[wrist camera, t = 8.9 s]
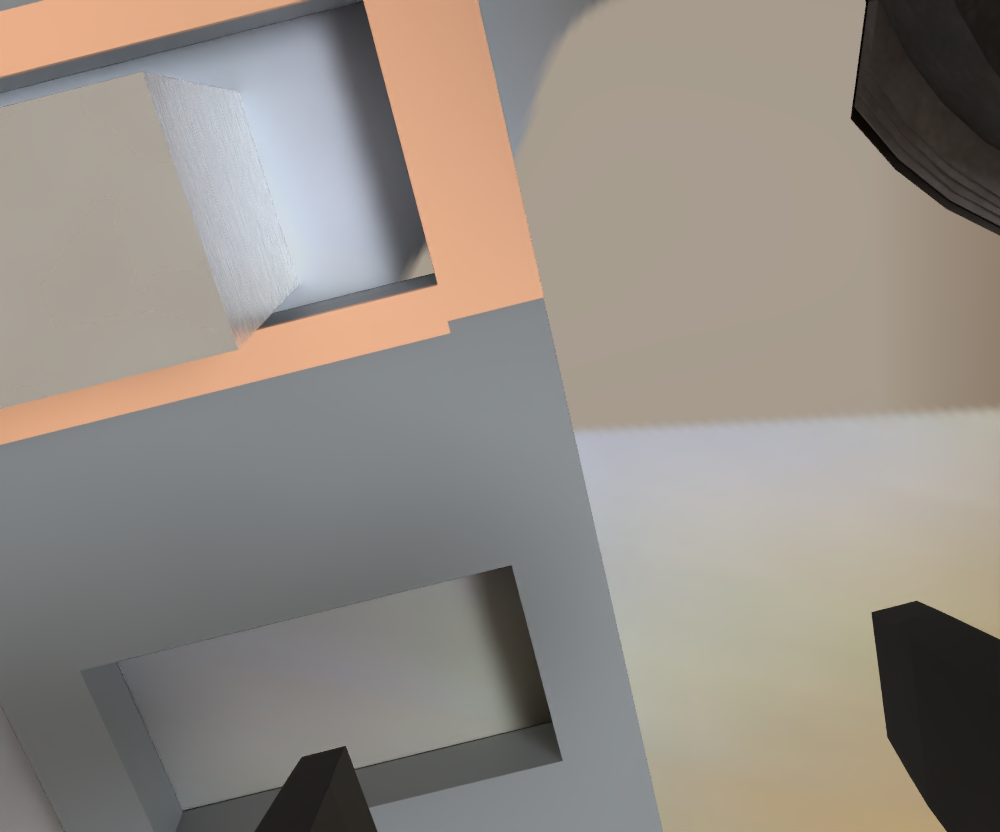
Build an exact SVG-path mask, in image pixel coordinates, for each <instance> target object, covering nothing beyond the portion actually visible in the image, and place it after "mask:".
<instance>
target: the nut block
mask: <svg viewBox="0 0 1000 832" xmlns="http://www.w3.org/2000/svg"><path fill="white" fill-rule="evenodd" d="M298 285H299V283H298V280H297V277H296V274H295V270H294V267H293V264H292V261H291V258H290V254H289V251H288V248H287V245H286V242H285V239H284V235H283V232H282V229H281V226H280V223H279V219H278V216H277V213H276V210H275V207H274V204H273V200H272V197H271V194H270V191H269V188H268V184H267V181H266V178H265V175H264V172H263V169H262V165H261V162H260V159H259V156H258V153H257V149H256V146H255V143H254V140H253V137H252V133H251V130H250V127H249V124H248V121H247V118H246V114H245V111H244V108H243V105H242V102H241V98H240V95H239V92H237V91H232V90H227V89H223V88H218V87H213V86H208V85H203V84H199V83H194V82H189V81H184V80H179V79H175V78H170V77H165V76H160V75H155V74H151V73H146V72H139V73H135V74H131V75H128V76H124V77H120V78H116V79H112V80H108V81H104V82H100V83H96V84H92V85H88V86H84V87H80V88H76V89H72V90H68V91H64V92H60V93H56V94H52V95H48V96H44V97H40V98H37V99H33V100H29V101H25V102H21V103H17V104H13V105H9V106H5V107H1V108H0V409H3V408H7V407H11V406H15V405H19V404H23V403H27V402H31V401H35V400H39V399H43V398H47V397H51V396H55V395H59V394H63V393H67V392H71V391H75V390H79V389H83V388H87V387H91V386H95V385H99V384H103V383H107V382H111V381H115V380H119V379H123V378H127V377H131V376H135V375H139V374H143V373H147V372H151V371H155V370H159V369H163V368H167V367H171V366H175V365H179V364H183V363H187V362H191V361H195V360H199V359H203V358H207V357H211V356H215V355H219V354H223V353H227V352H231V351H235V350H238V349H239V348H240V347H241V346H242V345H243V344H244V343H245V342H246V341H247V340H248V339H249V338H250V336H251V335H252V334H253V333H254V332H255V331H256V330H257V329H258V328H259V327H260V326H261V325H262V324H263V322H264V321H265V320H266V319H267V318H268V317H269V316H270V315H271V314H272V313H273V312H274V311H275V309H276V308H277V307H278V306H279V305H280V304H281V303H282V302H283V301H284V300H285V299H286V298H287V297H288V295H289V294H290V293H291V292H292V291H293V290H294V289H295V288H296V287H297V286H298Z"/></svg>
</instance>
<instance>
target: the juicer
mask: <svg viewBox="0 0 1000 832" xmlns="http://www.w3.org/2000/svg"><path fill="white" fill-rule="evenodd" d="M865 1H866V7H865V14H864V22H863V29H862V37H861V45H860V52H859V59H858V67H857V74H856V82H855V89H854V97H853V104H852V113H851V120H852V121H853V122H854V123H855V125H856V126H857V127H858V128H859V129H860V130H861V131H862V132H863V133H864V135H865V136H866V137H867V138H868V139H869V140H870V142H871V143H872V144H873V145H874V146H875V147H876V148H877V150H878V151H879V152H880V153H881V154H882V155H883V156H884V157H885V159H886V160H887V161H888V162H889V163H890V164H891V165H892V167H893V168H894V169H895V170H896V171H898V172H899V173H901V174H902V175H903V176H904V177H906V178H907V179H908V180H910V181H911V182H912V183H913V184H915V185H916V186H917V187H919V188H920V189H921V190H922V191H924V192H925V193H926V194H928V195H929V196H930V197H932V198H933V199H934V200H935V201H937V202H938V203H939V204H940V205H942V206H943V207H944V208H946V209H947V210H949V211H951V212H953V213H955V214H957V215H959V216H962V217H963V218H965V219H968V220H969V221H971V222H973V223H975V224H977V225H980V226H982V227H983V228H985V229H987V230H990V231H991V232H994V233H996V234H997V235H999V236H1000V0H865Z"/></svg>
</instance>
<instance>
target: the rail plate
mask: <svg viewBox="0 0 1000 832" xmlns="http://www.w3.org/2000/svg"><path fill="white" fill-rule="evenodd" d="M361 1H364V5H365V9H366V13H367V16H368V20H369V24H370V28H371V32H372V36H373V39H374V43H375V47H376V51H377V55H378V58H379V62H380V66H381V70H382V74H383V78H384V81H385V85H386V89H387V93H388V97H389V101H390V104H391V108H392V112H393V116H394V120H395V123H396V127H397V131H398V135H399V139H400V143H401V146H402V150H403V154H404V158H405V162H406V165H407V169H408V173H409V177H410V181H411V185H412V188H413V192H414V196H415V200H416V204H417V207H418V211H419V215H420V219H421V223H422V227H423V230H424V234H425V238H426V242H427V246H428V249H429V253H430V257H431V261H432V265H433V269H434V272H435V273H433V274H429V275H425V276H421V277H417V278H413V279H409V280H405V281H401V282H397V283H393V284H389V285H385V286H381V287H377V288H373V289H368V290H364V291H360V292H356V293H352V294H348V295H344V296H340V297H336V298H332V299H328V300H324V301H320V302H316V303H312V304H308V305H304V306H300V307H296V308H292V309H288V310H284V311H280V312H276V313H272V314H271V315H270V316H269V317H268V318H267V319H266V320H265V321H264V322H263V324H262V325H261V326H260V327H259V328H258V329H257V330H256V331H255V332H254V333H253V334H252V335H251V336H250V338H249V339H248V340H247V341H246V342H245V343H244V344H243V345H242V346H241V347H240V348H239V349H238V350H235V351H231V352H227V353H223V354H219V355H215V356H211V357H207V358H203V359H199V360H195V361H191V362H187V363H183V364H179V365H175V366H171V367H167V368H163V369H159V370H155V371H151V372H147V373H143V374H139V375H135V376H131V377H127V378H123V379H119V380H115V381H111V382H107V383H103V384H99V385H95V386H91V387H87V388H83V389H79V390H75V391H71V392H67V393H63V394H59V395H55V396H51V397H47V398H43V399H39V400H35V401H31V402H27V403H23V404H19V405H15V406H11V407H7V408H3V409H0V705H1V707H2V709H3V711H4V713H5V715H6V717H7V719H8V721H9V723H10V725H11V727H12V729H13V731H14V733H15V735H16V737H17V739H18V741H19V743H20V745H21V747H22V749H23V750H24V752H25V754H26V756H27V758H28V760H29V762H30V764H31V766H32V768H33V770H34V772H35V774H36V776H37V778H38V780H39V782H40V784H41V786H42V788H43V790H44V792H45V794H46V796H47V798H48V800H49V802H50V804H51V806H52V808H53V810H54V812H55V814H56V816H57V818H58V820H59V822H60V824H61V826H62V828H63V830H64V832H254V831H255V830H256V828H257V826H258V825H259V823H260V822H261V820H262V819H263V817H264V815H265V814H266V812H267V811H268V809H269V807H270V806H271V804H272V803H273V801H274V799H275V798H276V796H277V795H278V793H279V792H280V790H281V788H279V789H274V790H270V791H266V792H262V793H258V794H254V795H250V796H246V797H241V798H237V799H233V800H229V801H225V802H221V803H217V804H213V805H209V806H204V807H200V808H196V809H192V810H188V811H184V812H183V811H182V808H181V806H180V804H179V802H178V799H177V797H176V795H175V793H174V790H173V788H172V786H171V784H170V781H169V779H168V777H167V775H166V772H165V770H164V768H163V766H162V763H161V761H160V759H159V757H158V754H157V752H156V750H155V748H154V745H153V743H152V741H151V739H150V736H149V734H148V732H147V730H146V727H145V725H144V723H143V721H142V718H141V716H140V714H139V712H138V709H137V707H136V705H135V703H134V700H133V698H132V696H131V694H130V691H129V689H128V687H127V685H126V682H125V680H124V678H123V676H122V673H121V671H120V669H119V667H118V664H117V662H118V661H122V660H126V659H130V658H134V657H138V656H143V655H147V654H151V653H155V652H159V651H163V650H167V649H171V648H175V647H179V646H183V645H187V644H192V643H196V642H200V641H204V640H208V639H212V638H216V637H220V636H224V635H228V634H232V633H236V632H241V631H245V630H249V629H253V628H257V627H261V626H265V625H269V624H273V623H277V622H281V621H285V620H290V619H294V618H298V617H302V616H306V615H310V614H314V613H318V612H322V611H326V610H330V609H334V608H339V607H343V606H347V605H351V604H355V603H359V602H363V601H367V600H371V599H375V598H379V597H383V596H388V595H392V594H396V593H400V592H404V591H408V590H412V589H416V588H420V587H424V586H428V585H432V584H437V583H441V582H445V581H449V580H453V579H457V578H461V577H465V576H469V575H473V574H477V573H481V572H486V571H490V570H494V569H498V568H502V567H506V566H510V565H512V569H513V573H514V576H515V580H516V584H517V588H518V592H519V596H520V599H521V603H522V607H523V611H524V615H525V619H526V622H527V626H528V630H529V634H530V638H531V641H532V645H533V649H534V653H535V657H536V661H537V664H538V668H539V672H540V676H541V680H542V683H543V687H544V691H545V695H546V699H547V703H548V706H549V710H550V714H551V718H552V722H551V723H546V724H542V725H538V726H534V727H530V728H526V729H522V730H518V731H513V732H509V733H505V734H501V735H497V736H493V737H489V738H485V739H480V740H476V741H472V742H468V743H464V744H460V745H456V746H452V747H448V748H443V749H439V750H435V751H431V752H427V753H423V754H419V755H415V756H410V757H406V758H402V759H398V760H394V761H390V762H386V763H382V764H377V765H373V766H369V767H365V768H361V769H357V770H355V772H356V775H357V778H358V781H359V783H360V786H361V789H362V791H363V794H364V797H365V799H366V802H367V805H368V807H369V810H370V813H371V815H372V818H373V821H374V823H375V826H376V829H377V831H378V832H663V830H662V826H661V822H660V817H659V813H658V808H657V804H656V799H655V795H654V790H653V786H652V781H651V777H650V772H649V768H648V763H647V759H646V754H645V750H644V745H643V741H642V736H641V732H640V727H639V723H638V719H637V714H636V710H635V705H634V701H633V696H632V692H631V687H630V683H629V678H628V674H627V669H626V665H625V660H624V656H623V651H622V647H621V642H620V638H619V633H618V629H617V624H616V620H615V616H614V611H613V607H612V602H611V598H610V593H609V589H608V584H607V580H606V575H605V571H604V566H603V562H602V557H601V553H600V548H599V544H598V539H597V535H596V530H595V526H594V521H593V517H592V513H591V508H590V504H589V499H588V495H587V490H586V486H585V481H584V477H583V472H582V468H581V463H580V459H579V454H578V450H577V445H576V441H575V436H574V432H573V427H572V423H571V419H570V414H569V410H568V405H567V401H566V396H565V392H564V387H563V383H562V379H561V374H560V369H559V365H558V360H557V356H556V351H555V348H554V343H553V338H552V334H551V329H550V324H549V320H548V315H547V311H546V307H545V302H544V298H543V297H544V294H543V290H542V285H541V281H540V277H539V272H538V267H537V263H536V258H535V254H534V250H533V245H532V240H531V236H530V232H529V227H528V223H527V218H526V214H525V209H524V205H523V201H522V196H521V191H520V187H519V182H518V178H517V173H516V169H515V164H514V160H513V155H512V151H511V146H510V142H509V137H508V133H507V128H506V124H505V119H504V115H503V110H502V106H501V101H500V97H499V93H498V88H497V84H496V79H495V75H494V70H493V66H492V61H491V57H490V52H489V48H488V43H487V39H486V34H485V30H484V25H483V21H482V16H481V12H480V7H479V3H478V0H0V93H1V92H5V91H9V90H13V89H17V88H21V87H25V86H29V85H33V84H37V83H41V82H44V81H48V80H52V79H56V78H60V77H64V76H68V75H72V74H76V73H80V72H84V71H88V70H92V69H96V68H100V67H104V66H108V65H112V64H116V63H120V62H124V61H128V60H131V59H135V58H139V57H143V56H147V55H151V54H155V53H159V52H163V51H167V50H171V49H175V48H179V47H183V46H187V45H191V44H195V43H199V42H203V41H207V40H211V39H215V38H219V37H222V36H226V35H230V34H234V33H238V32H242V31H246V30H250V29H254V28H258V27H262V26H266V25H270V24H274V23H278V22H282V21H286V20H290V19H294V18H298V17H302V16H306V15H309V14H313V13H317V12H321V11H325V10H329V9H333V8H337V7H341V6H345V5H349V4H353V3H357V2H361Z"/></svg>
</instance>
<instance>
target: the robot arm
mask: <svg viewBox="0 0 1000 832" xmlns="http://www.w3.org/2000/svg"><path fill="white" fill-rule="evenodd" d="M872 620H873V628H874V635H875V643H876V651H877V659H878V667H879V675H880V682H881V690H882V698H883V706H884V714H885V722H886V729H887V737H888V739H889V741H890V742H891V744H892V746H893V748H894V749H895V751H896V753H897V755H898V756H899V758H900V760H901V762H902V763H903V765H904V767H905V768H906V770H907V772H908V774H909V775H910V777H911V779H912V780H913V782H914V784H915V785H916V787H917V789H918V790H919V792H920V794H921V795H922V797H923V798H924V800H925V802H926V803H927V805H928V807H929V808H930V809H931V811H932V812H933V813H934V815H935V816H936V818H937V819H938V820H939V822H940V823H941V824H942V826H943V827H944V828H945V830H946V831H947V832H1000V639H998V638H995V637H993V636H991V635H989V634H987V633H985V632H983V631H981V630H979V629H977V628H974V627H972V626H970V625H968V624H966V623H964V622H962V621H960V620H958V619H956V618H954V617H951V616H949V615H947V614H945V613H943V612H941V611H939V610H936V609H934V608H932V607H930V606H927V605H925V604H923V603H920V602H918V601H914V602H910V603H906V604H902V605H899V606H895V607H891V608H887V609H883V610H879V611H875V612H872ZM254 832H378V831H377V829H376V826H375V823H374V821H373V818H372V815H371V813H370V810H369V807H368V805H367V802H366V799H365V797H364V794H363V791H362V789H361V786H360V783H359V781H358V778H357V775H356V772H355V770H354V767H353V764H352V762H351V759H350V756H349V754H348V751H347V748H346V746H344V747H340V748H336V749H332V750H328V751H324V752H320V753H316V754H312V755H308V756H304V757H302V758H301V759H300V761H299V762H298V764H297V765H296V767H295V768H294V770H293V771H292V773H291V774H290V776H289V778H288V779H287V781H286V782H285V784H284V785H283V787H282V788H281V790H280V792H279V793H278V795H277V796H276V798H275V799H274V801H273V803H272V804H271V806H270V807H269V809H268V811H267V812H266V814H265V815H264V817H263V819H262V820H261V822H260V823H259V825H258V826H257V828H256V830H255V831H254Z"/></svg>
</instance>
